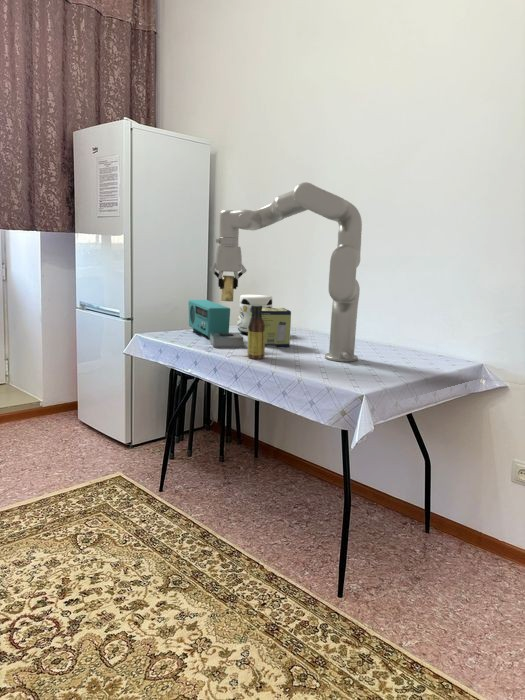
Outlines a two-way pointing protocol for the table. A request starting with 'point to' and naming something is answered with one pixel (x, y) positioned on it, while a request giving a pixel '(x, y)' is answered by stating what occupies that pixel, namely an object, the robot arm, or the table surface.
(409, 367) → the table surface
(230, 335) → the housing
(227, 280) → the gold drink can
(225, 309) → the radio
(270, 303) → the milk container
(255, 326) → the sauce bottle
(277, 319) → the protein box
